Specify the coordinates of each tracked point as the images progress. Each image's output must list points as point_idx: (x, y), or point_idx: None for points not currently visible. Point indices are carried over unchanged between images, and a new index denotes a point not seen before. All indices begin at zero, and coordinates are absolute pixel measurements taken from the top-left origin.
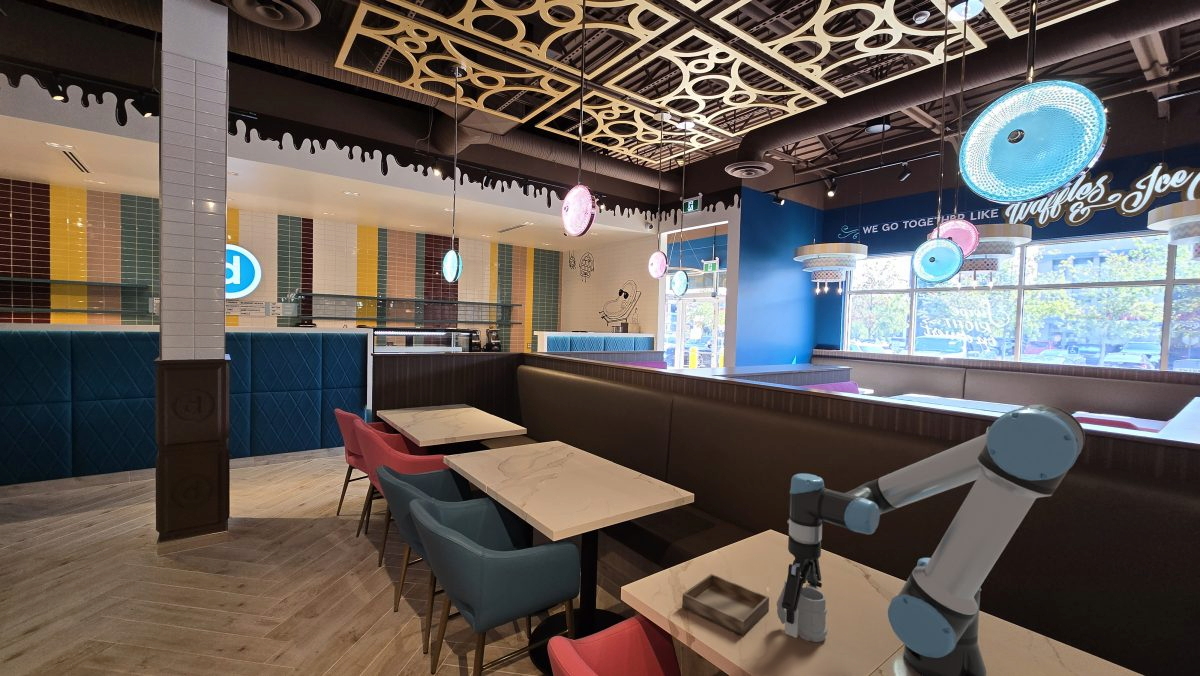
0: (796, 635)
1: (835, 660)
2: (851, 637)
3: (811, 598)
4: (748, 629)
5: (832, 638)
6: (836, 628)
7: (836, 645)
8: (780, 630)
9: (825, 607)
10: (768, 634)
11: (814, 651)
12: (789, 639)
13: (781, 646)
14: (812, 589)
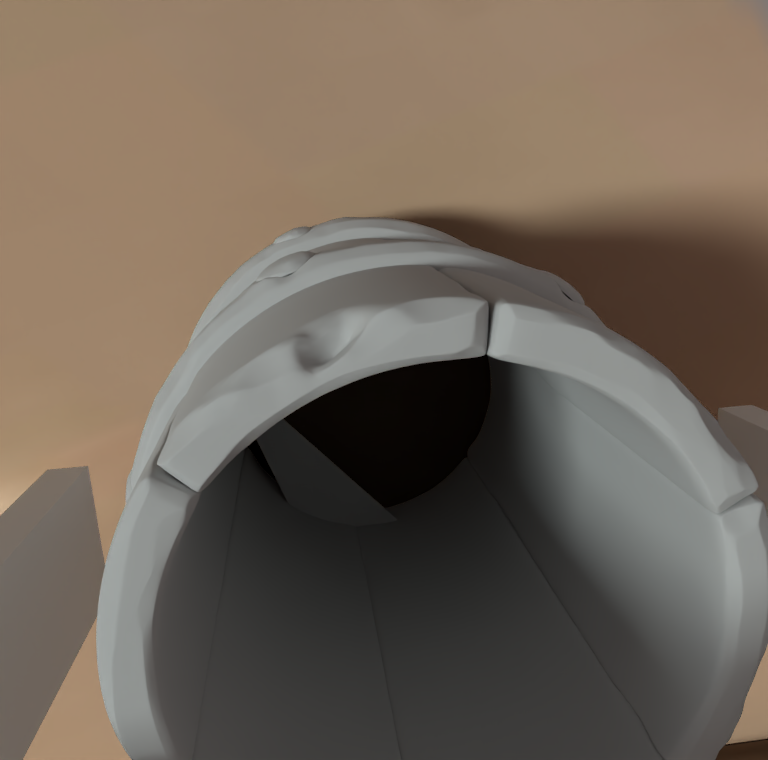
0: (761, 411)
1: (628, 8)
2: (51, 14)
3: (213, 606)
4: (766, 755)
5: (263, 178)
6: (21, 219)
7: (359, 96)
8: None
9: (337, 280)
10: None
11: (631, 227)
12: None
13: None
14: (182, 734)
